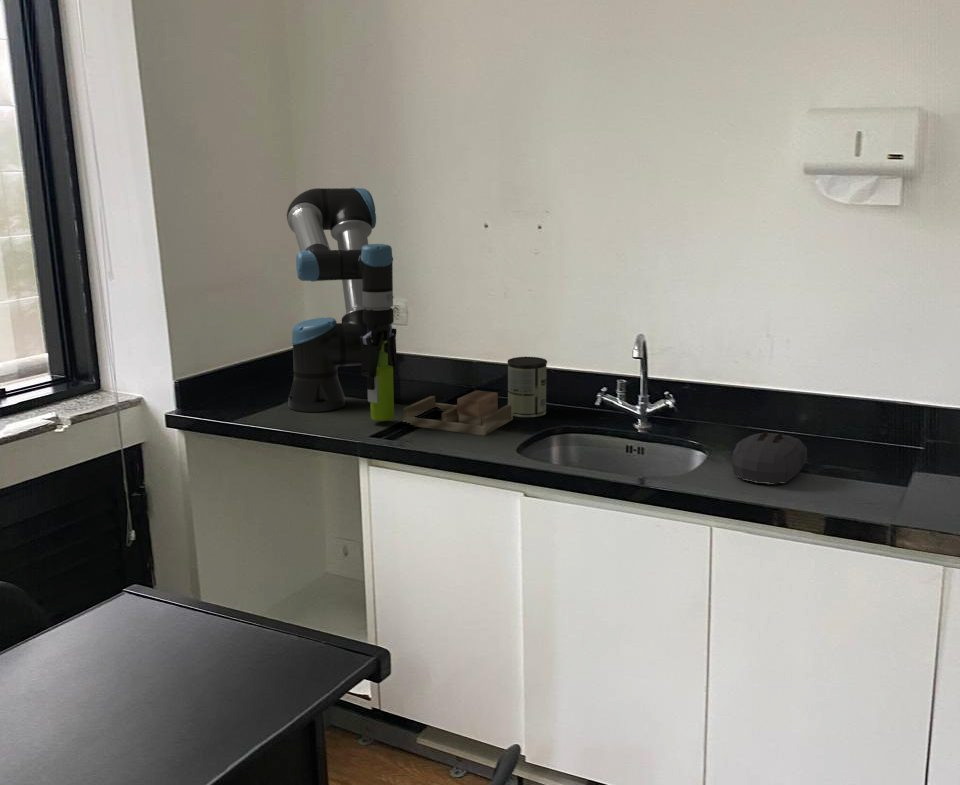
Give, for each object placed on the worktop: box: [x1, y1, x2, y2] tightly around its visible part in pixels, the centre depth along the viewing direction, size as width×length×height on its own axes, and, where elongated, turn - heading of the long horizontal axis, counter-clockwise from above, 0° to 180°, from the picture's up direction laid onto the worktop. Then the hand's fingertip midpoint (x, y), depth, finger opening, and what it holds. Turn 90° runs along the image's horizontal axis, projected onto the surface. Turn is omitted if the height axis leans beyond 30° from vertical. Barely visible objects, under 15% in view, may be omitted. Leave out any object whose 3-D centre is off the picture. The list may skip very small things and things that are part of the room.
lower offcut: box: [459, 407, 499, 426], centre depth 255 cm, size 6×10×4 cm, turn 155°
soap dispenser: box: [369, 340, 395, 422], centre depth 254 cm, size 6×7×20 cm
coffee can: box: [507, 356, 548, 418], centre depth 266 cm, size 10×10×14 cm
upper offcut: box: [456, 389, 499, 417], centre depth 254 cm, size 6×10×4 cm, turn 151°
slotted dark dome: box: [731, 431, 808, 483], centre depth 216 cm, size 15×8×20 cm
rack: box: [400, 395, 514, 436], centre depth 258 cm, size 23×17×4 cm
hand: (380, 398), depth 256 cm, fingers closed on soap dispenser, 6 cm apart
